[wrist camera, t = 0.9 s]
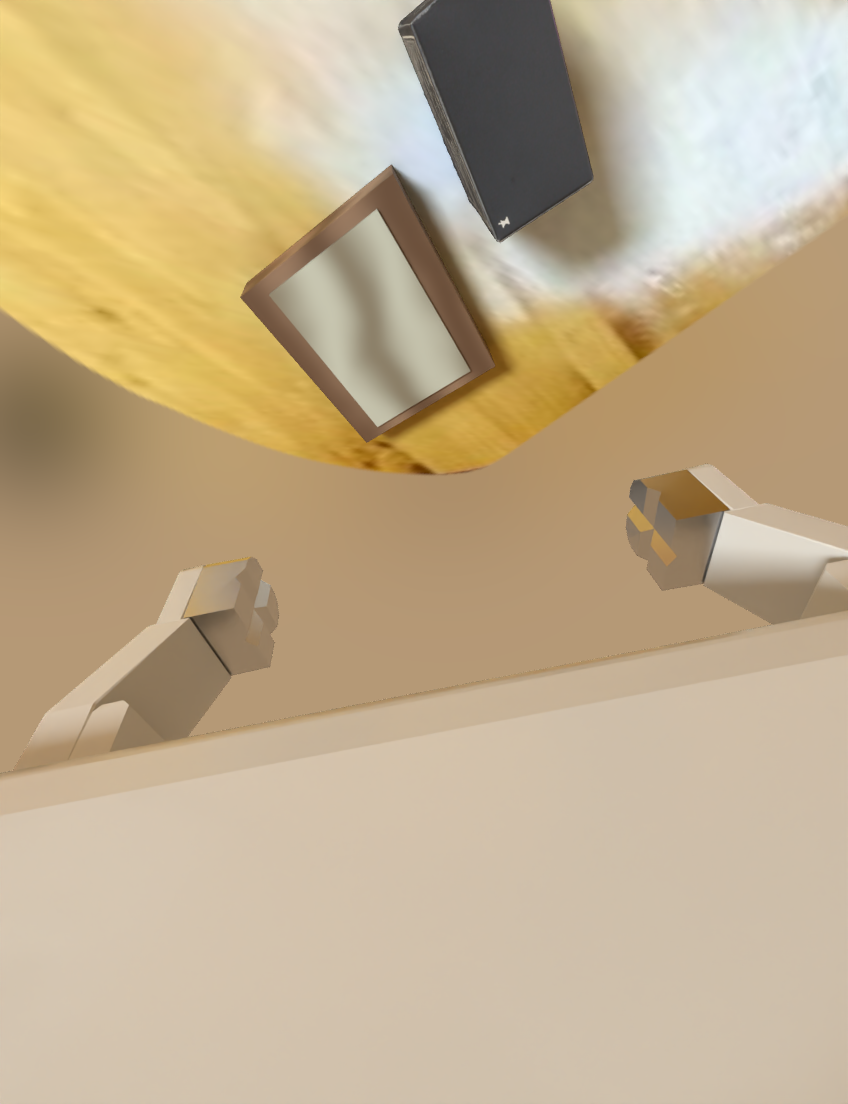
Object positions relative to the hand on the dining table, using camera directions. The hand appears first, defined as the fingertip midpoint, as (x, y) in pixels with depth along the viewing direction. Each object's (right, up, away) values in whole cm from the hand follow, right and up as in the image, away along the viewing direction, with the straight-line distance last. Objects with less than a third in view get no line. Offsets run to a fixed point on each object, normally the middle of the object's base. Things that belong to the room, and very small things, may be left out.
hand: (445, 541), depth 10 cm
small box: (+3, +30, +21) cm, 37 cm away
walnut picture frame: (-5, +20, +31) cm, 37 cm away
